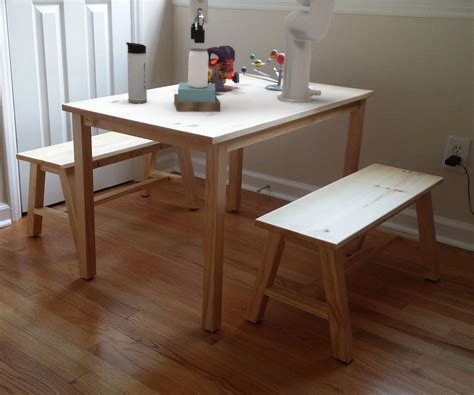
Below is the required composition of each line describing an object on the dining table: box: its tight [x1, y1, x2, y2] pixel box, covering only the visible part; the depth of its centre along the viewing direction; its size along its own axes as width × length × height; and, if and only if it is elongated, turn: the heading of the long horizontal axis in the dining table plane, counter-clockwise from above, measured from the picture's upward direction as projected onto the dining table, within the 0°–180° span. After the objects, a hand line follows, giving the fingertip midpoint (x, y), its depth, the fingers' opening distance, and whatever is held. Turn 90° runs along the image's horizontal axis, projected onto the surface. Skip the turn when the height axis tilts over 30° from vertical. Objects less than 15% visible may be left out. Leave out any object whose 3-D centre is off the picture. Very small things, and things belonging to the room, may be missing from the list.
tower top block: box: [177, 82, 216, 103], centre depth 210 cm, size 12×12×4 cm
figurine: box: [205, 45, 240, 93], centre depth 239 cm, size 20×14×17 cm
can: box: [187, 48, 209, 88], centre depth 206 cm, size 6×6×12 cm
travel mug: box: [125, 41, 148, 105], centre depth 213 cm, size 6×7×20 cm
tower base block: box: [173, 93, 221, 113], centre depth 211 cm, size 14×14×4 cm
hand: (197, 41), depth 203 cm, fingers open, 9 cm apart
